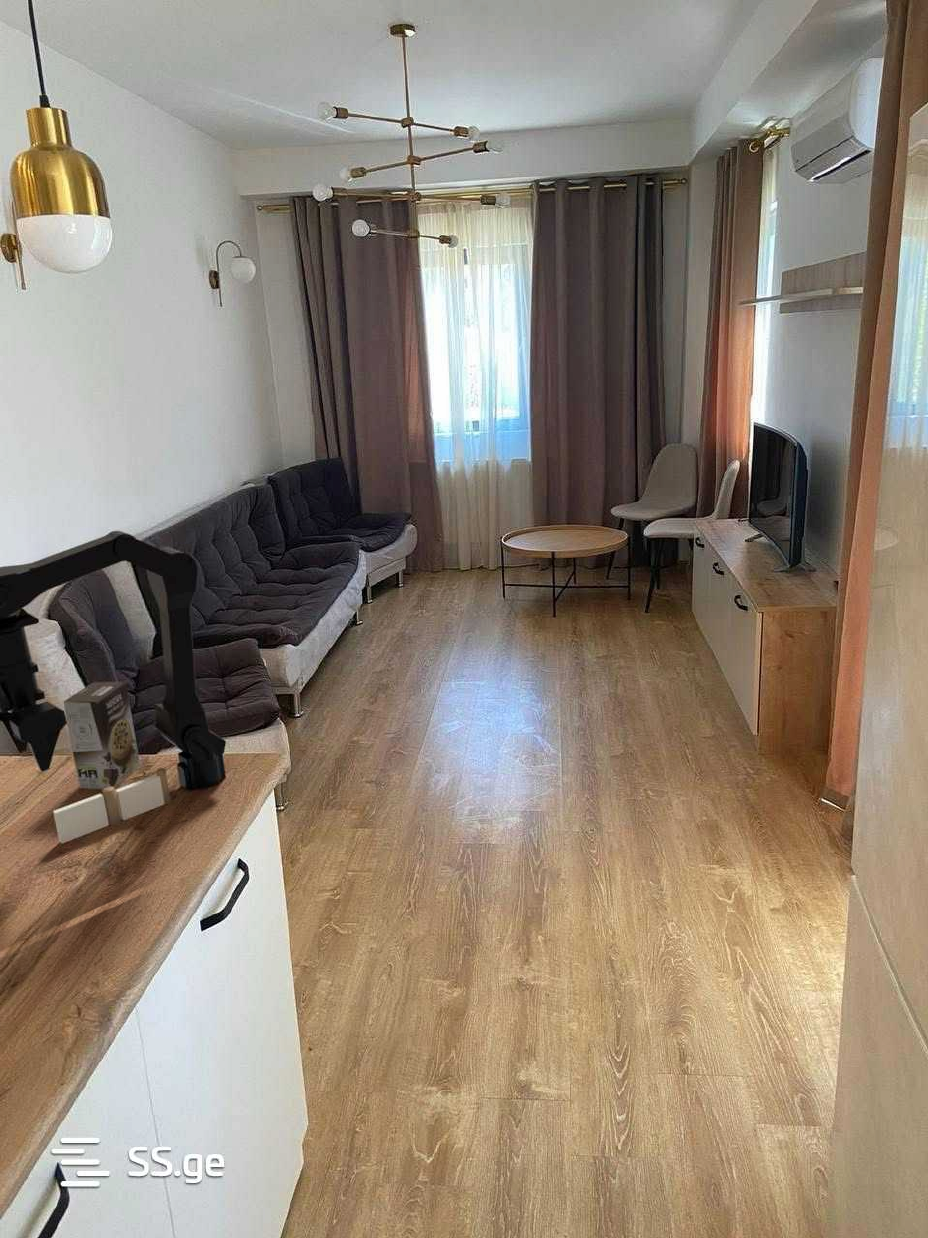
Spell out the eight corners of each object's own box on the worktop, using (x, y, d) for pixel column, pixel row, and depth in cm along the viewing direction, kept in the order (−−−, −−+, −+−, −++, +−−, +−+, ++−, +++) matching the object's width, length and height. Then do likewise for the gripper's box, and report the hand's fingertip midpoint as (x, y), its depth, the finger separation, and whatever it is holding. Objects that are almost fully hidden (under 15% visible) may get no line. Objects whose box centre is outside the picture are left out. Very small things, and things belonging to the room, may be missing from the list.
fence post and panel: (167, 800, 146) (162, 767, 144) (173, 803, 144) (167, 770, 143) (106, 823, 139) (100, 789, 138) (111, 828, 138) (105, 793, 136)
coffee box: (114, 793, 150) (97, 702, 145) (78, 791, 151) (60, 701, 146) (142, 767, 158) (127, 680, 153) (109, 766, 160) (92, 680, 155)
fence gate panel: (106, 823, 139) (100, 793, 137) (108, 825, 138) (103, 795, 137) (59, 841, 134) (53, 811, 133) (61, 843, 134) (55, 813, 132)
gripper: (-73, 663, 129) (-46, 762, 134) (-33, 695, 116) (-5, 803, 121) (9, 640, 136) (32, 735, 141) (55, 668, 123) (79, 772, 128)
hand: (33, 760), depth 133 cm, fingers open, 9 cm apart
